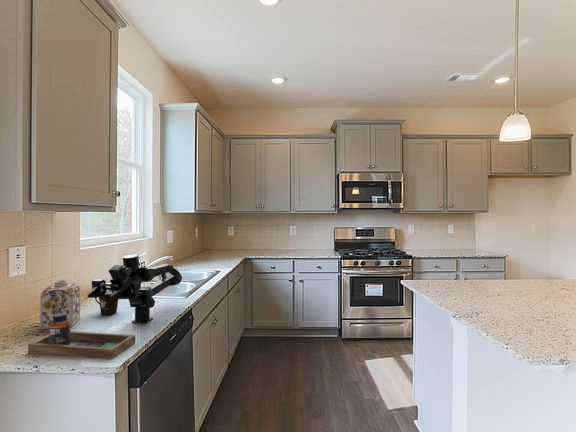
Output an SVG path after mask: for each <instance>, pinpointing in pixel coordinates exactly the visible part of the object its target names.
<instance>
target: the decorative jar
mask: <svg viewBox="0 0 576 432" xmlns="http://www.w3.org/2000/svg"><path fill="white" fill-rule="evenodd" d="M39 309H40V310H39V311H40V312H39V313H40V314H39V316H40V317H39V327H40V330H50V323H51V322H52V321H53V315H55V314H58V313H66V314H67V319H69V320H70V328H72V327H74V326H75V325H76V323H77V322H79V320H80V319H81V288H80V286H79V285H78V284H77V283H71V282H70V283H69V281H68V280H67V279H66V280H65V279H63V280H62V279H61V280H54V284H51V285H48V286H45V287H44V288H43V290H42V293H41V294H40V308H39Z"/></svg>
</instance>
